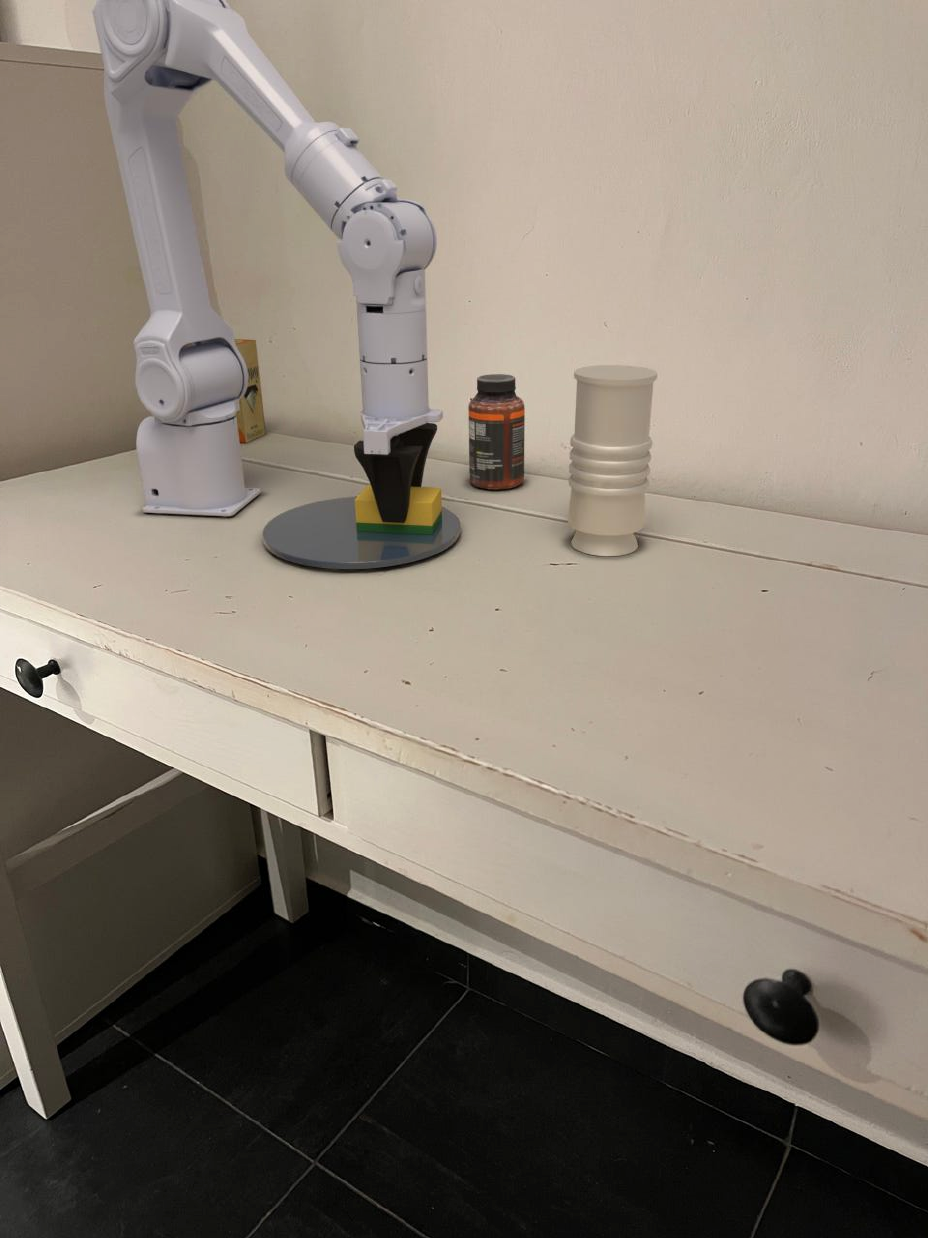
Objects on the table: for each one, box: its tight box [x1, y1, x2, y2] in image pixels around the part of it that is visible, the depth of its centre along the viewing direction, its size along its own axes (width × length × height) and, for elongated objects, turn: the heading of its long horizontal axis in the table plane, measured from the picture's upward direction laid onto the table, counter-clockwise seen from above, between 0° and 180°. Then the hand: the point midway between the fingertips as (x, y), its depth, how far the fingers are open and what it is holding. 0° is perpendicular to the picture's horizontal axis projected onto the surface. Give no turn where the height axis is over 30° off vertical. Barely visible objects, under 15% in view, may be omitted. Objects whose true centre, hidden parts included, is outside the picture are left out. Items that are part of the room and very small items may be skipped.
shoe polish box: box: [234, 338, 267, 444], centre depth 113 cm, size 5×5×12 cm
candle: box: [567, 364, 658, 557], centre depth 76 cm, size 7×7×15 cm
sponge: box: [355, 484, 443, 535], centre depth 80 cm, size 7×4×3 cm, turn 81°
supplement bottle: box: [467, 373, 526, 491], centre depth 93 cm, size 6×6×11 cm
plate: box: [261, 496, 462, 570], centre depth 81 cm, size 18×18×1 cm
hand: (400, 512), depth 80 cm, fingers closed on sponge, 4 cm apart
